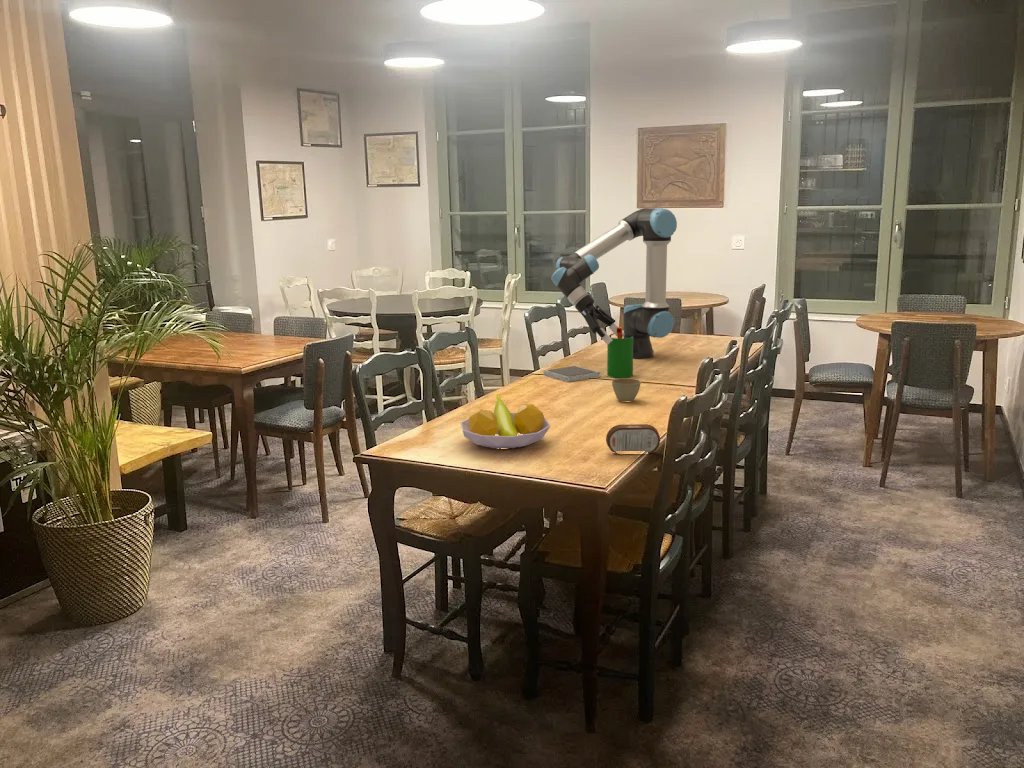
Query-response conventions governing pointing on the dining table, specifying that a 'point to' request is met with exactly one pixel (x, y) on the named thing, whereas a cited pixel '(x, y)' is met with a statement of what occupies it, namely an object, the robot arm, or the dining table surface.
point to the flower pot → (626, 388)
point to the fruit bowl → (506, 426)
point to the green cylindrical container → (620, 356)
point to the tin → (633, 438)
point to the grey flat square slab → (571, 373)
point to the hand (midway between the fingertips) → (616, 339)
